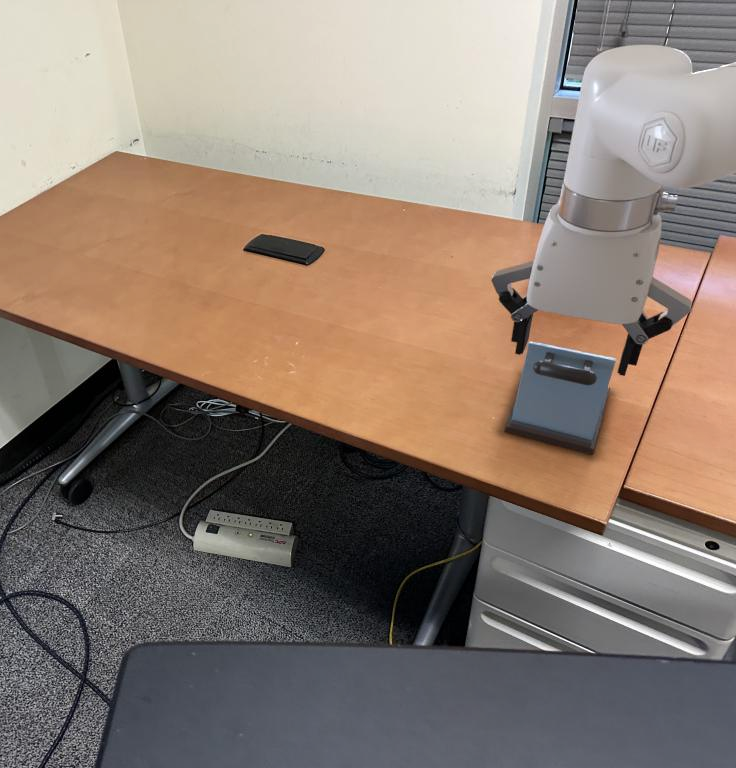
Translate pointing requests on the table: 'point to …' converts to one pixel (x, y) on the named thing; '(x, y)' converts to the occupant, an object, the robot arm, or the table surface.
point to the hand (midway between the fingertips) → (570, 357)
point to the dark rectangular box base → (556, 433)
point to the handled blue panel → (562, 389)
